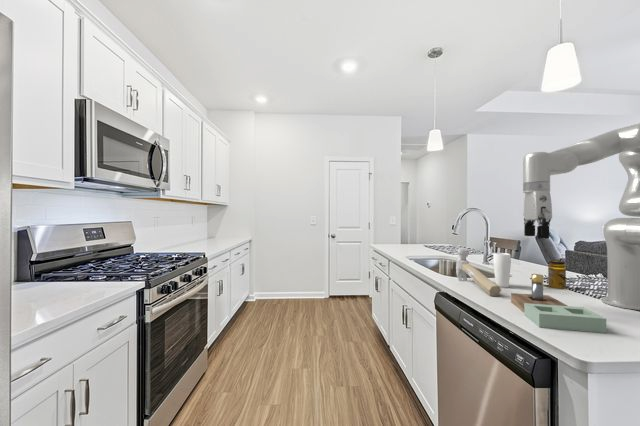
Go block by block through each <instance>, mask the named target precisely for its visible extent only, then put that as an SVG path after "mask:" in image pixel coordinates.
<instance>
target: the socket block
mask: <svg viewBox="0 0 640 426" xmlns="http://www.w3.org/2000/svg"><path fill="white" fill-rule="evenodd" d="M510 303H511V304H512V305H514V306H515V307H516V308H518V310H520V311H521V312H523V313H524V303H531V304H545V305H559V306H568V305H567V304H566V303H563V302H562V301H560V300H558V299H556V298H555V297H552V296H551V295H549V294H548V295H547V294H543V301H533V300H532V293H519V292H518V293H515V292H514V293H513V292H511V293H510Z"/></svg>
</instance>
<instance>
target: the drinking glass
mask: <svg viewBox="0 0 640 426" xmlns="http://www.w3.org/2000/svg"><path fill="white" fill-rule="evenodd" d="M492 260H493V261H492V262H493V271H494V281H495V282H494V283H495V284H497V285H498V286H500V288H504V289H505V288H509V287H510V275H511V269H512V268H511V267H512V266H511V265H512V256H511V254H510V253H506V252H493V258H492Z"/></svg>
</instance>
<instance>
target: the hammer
mask: <svg viewBox="0 0 640 426" xmlns="http://www.w3.org/2000/svg"><path fill="white" fill-rule="evenodd" d="M469 252H470V251H469V249H467V248H466V247H459V248H458V249H457V255H458V257H457V258H456V264H455V270H456V271H455V274H456V277H457V279H458V281H459V282H469V281H468V277H467V275H468V276H469V277H470V278H471V280H473V281H474V282H475V283H476V284H477V285H478V286H479V287H481V288H482V289H483V290H484V291H485V292H486V294H488V295H489V296H492V297H498V296H499V295H500V293H501V291H502V290H501V287H500V286H498V285H497V284H495V282H494V281H493V280H491V279H489V277H487V275H485V274H483V273H482V272H480V271H479V270H478V269H477V268H475V267H474V266H473V265H472V264H470V262H469V261H468V260H467V257H469V254H470V253H469Z"/></svg>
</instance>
